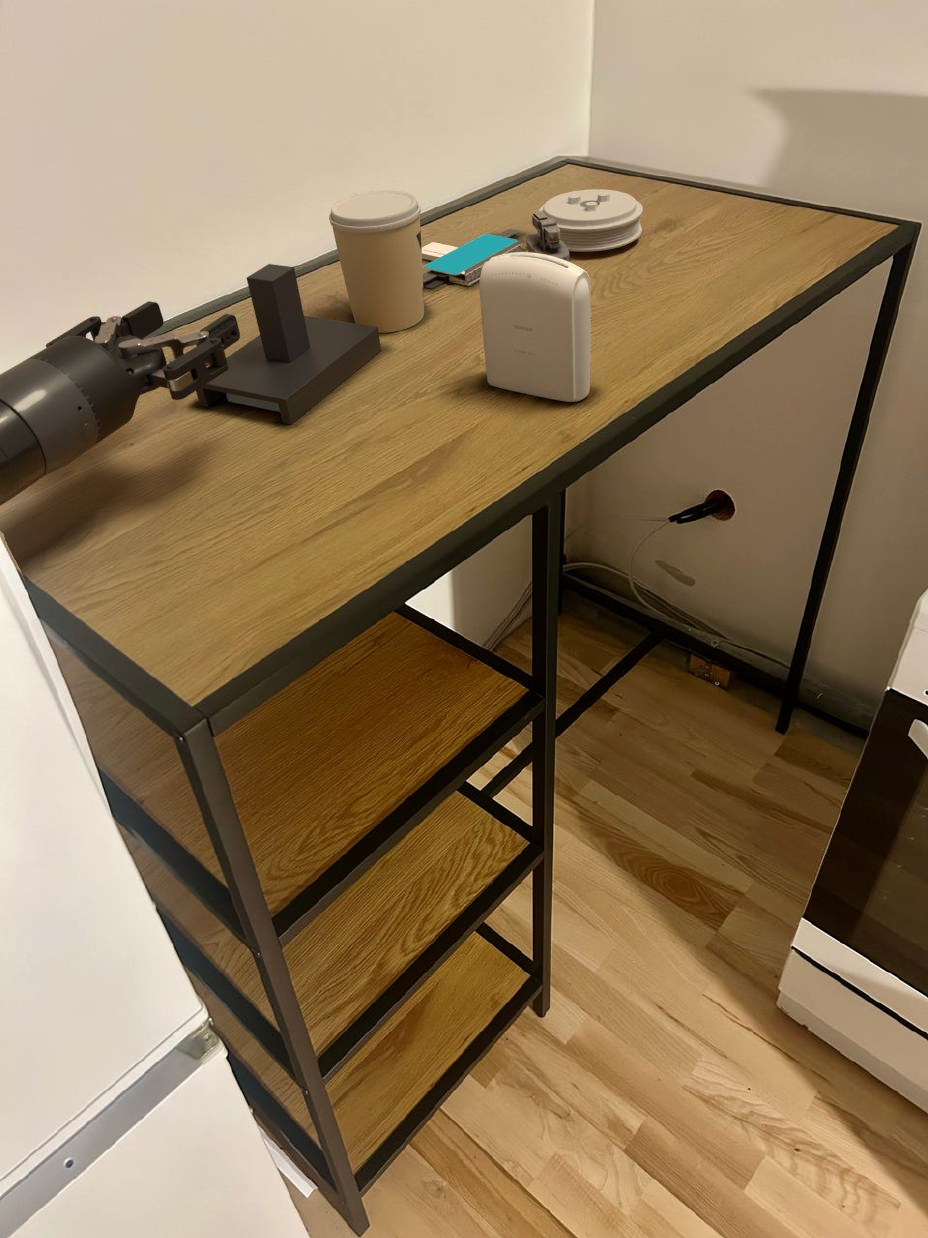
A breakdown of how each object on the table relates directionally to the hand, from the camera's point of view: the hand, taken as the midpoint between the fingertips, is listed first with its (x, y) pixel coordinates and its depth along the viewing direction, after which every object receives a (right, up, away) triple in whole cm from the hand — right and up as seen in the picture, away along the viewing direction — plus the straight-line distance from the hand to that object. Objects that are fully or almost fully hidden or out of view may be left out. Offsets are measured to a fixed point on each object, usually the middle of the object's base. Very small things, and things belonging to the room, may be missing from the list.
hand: (195, 318), depth 79 cm
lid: (+39, +21, +35) cm, 56 cm away
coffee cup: (+15, +7, +23) cm, 28 cm away
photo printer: (+30, -4, +8) cm, 31 cm away
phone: (+6, -1, +14) cm, 15 cm away
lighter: (+32, +7, +20) cm, 38 cm away
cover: (+6, -1, +14) cm, 15 cm away
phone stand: (+23, +18, +34) cm, 44 cm away
